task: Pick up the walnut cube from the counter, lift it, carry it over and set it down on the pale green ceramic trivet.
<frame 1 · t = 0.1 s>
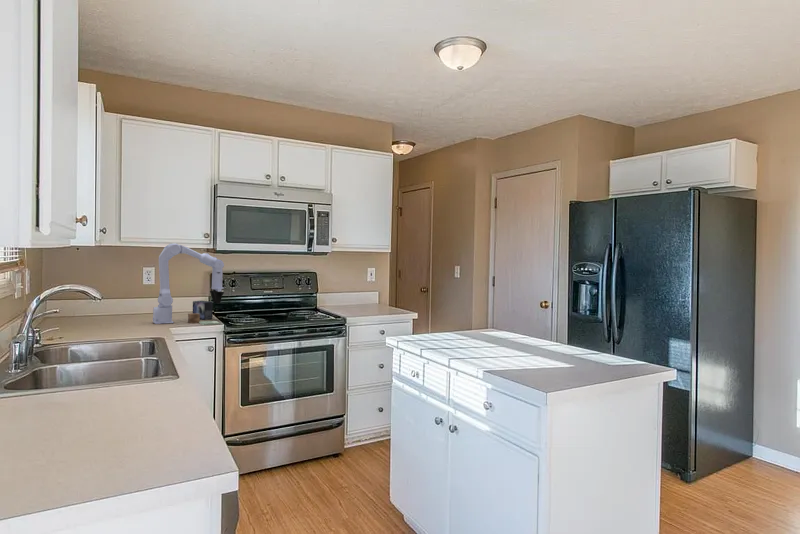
hand: (216, 303, 284), 10 cm above the worktop, tool pointing down, fingers open, 7 cm apart
small box: (202, 319, 289), on the worktop
trivet: (209, 323, 270), on the worktop
walnut cube: (193, 322, 273), on the worktop
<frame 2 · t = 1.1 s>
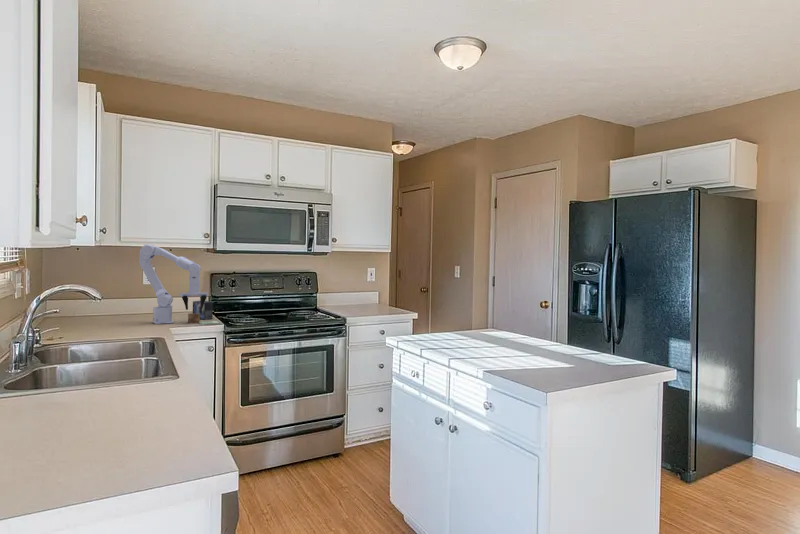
hand: (194, 309, 272), 7 cm above the worktop, tool pointing down, fingers open, 7 cm apart
nothing on the worktop moved.
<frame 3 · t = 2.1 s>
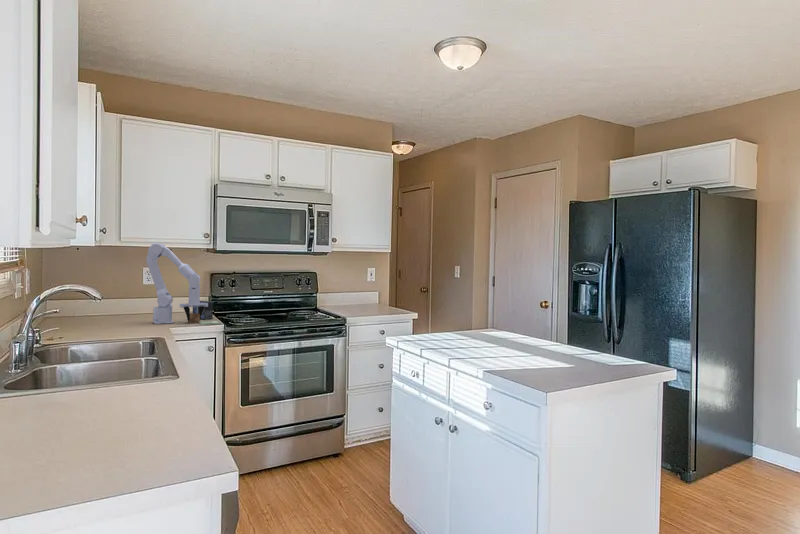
hand: (193, 320, 273), 1 cm above the worktop, tool pointing down, fingers closed on walnut cube, 5 cm apart
walnut cube: (193, 322, 273), on the worktop, touching gripper
everything else where it was.
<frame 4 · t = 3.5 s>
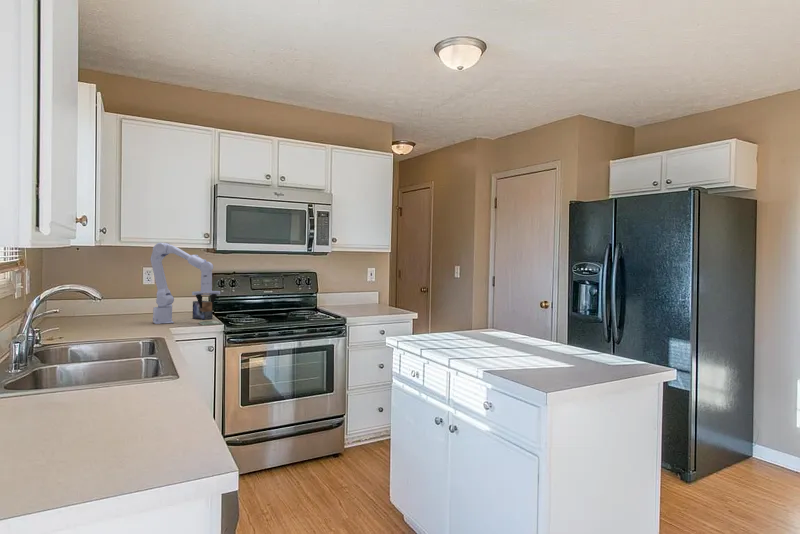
hand: (206, 307, 271), 9 cm above the worktop, tool pointing down, fingers closed on walnut cube, 5 cm apart
walnut cube: (206, 311, 271), point 7 cm above the worktop, touching gripper
everything else where it was.
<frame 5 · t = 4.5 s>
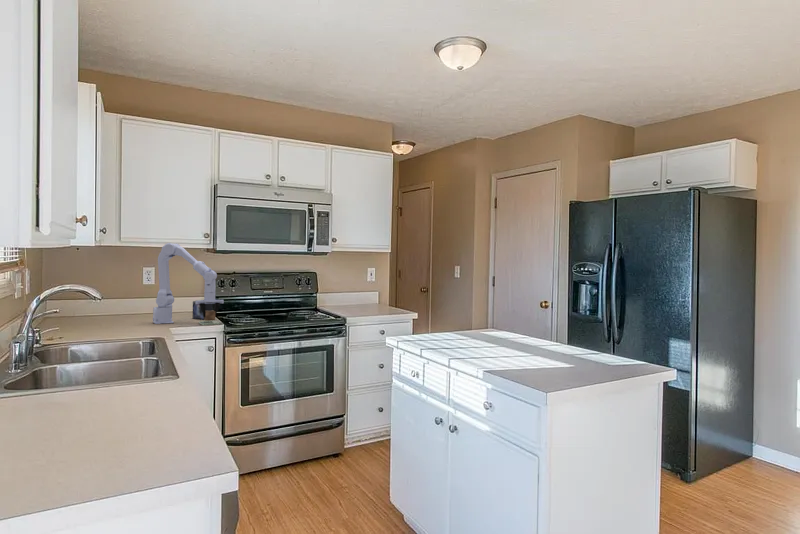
hand: (209, 316, 270), 4 cm above the worktop, tool pointing down, fingers closed on walnut cube, 5 cm apart
walnut cube: (209, 319, 270), point 2 cm above the worktop, touching gripper
everything else where it was.
when the fingers open (3 cm above the worktop, at t = 5.2 s): walnut cube stays where it is, resting on trivet.
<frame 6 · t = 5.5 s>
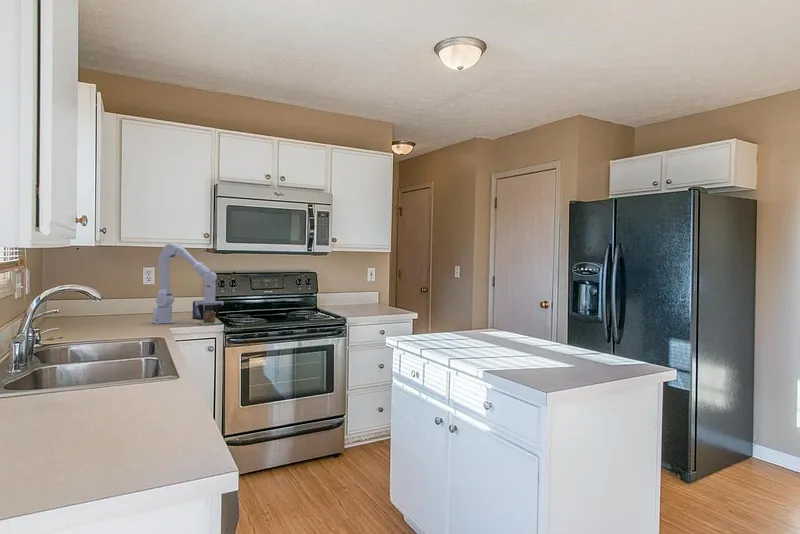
hand: (209, 318, 270), 3 cm above the worktop, tool pointing down, fingers open, 7 cm apart
walnut cube: (209, 322, 270), point 1 cm above the worktop, touching trivet
everything else where it was.
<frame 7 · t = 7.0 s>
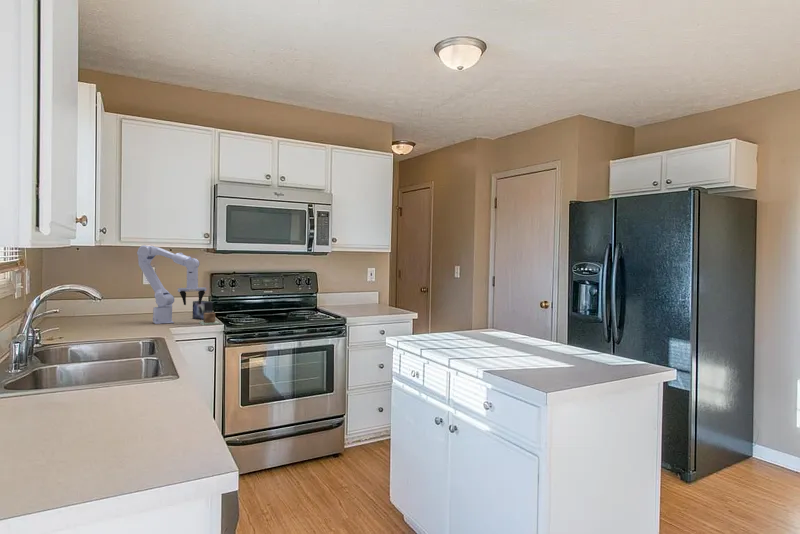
hand: (192, 304, 269), 10 cm above the worktop, tool pointing down, fingers open, 7 cm apart
nothing on the worktop moved.
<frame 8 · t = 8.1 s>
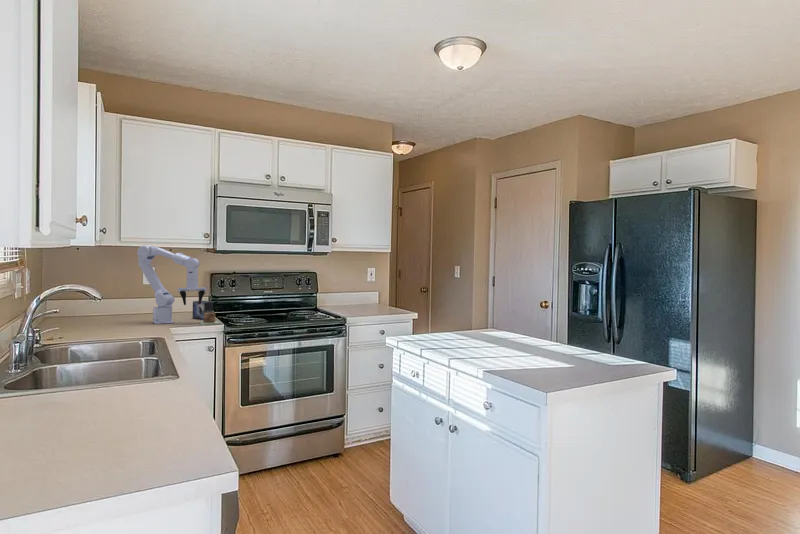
hand: (192, 304, 269), 10 cm above the worktop, tool pointing down, fingers open, 7 cm apart
nothing on the worktop moved.
at the end: walnut cube inside the target area on the trivet (0.0 cm from its centre), point 0.8 cm above the trivet's base; walnut cube tilted 0°; the gripper is holding nothing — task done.
